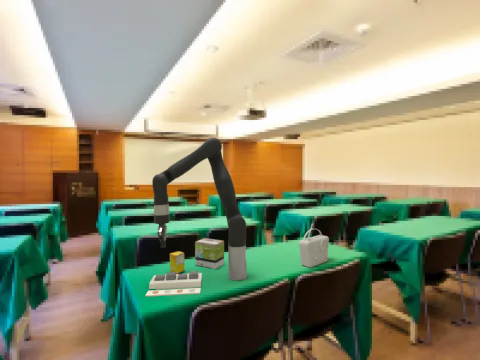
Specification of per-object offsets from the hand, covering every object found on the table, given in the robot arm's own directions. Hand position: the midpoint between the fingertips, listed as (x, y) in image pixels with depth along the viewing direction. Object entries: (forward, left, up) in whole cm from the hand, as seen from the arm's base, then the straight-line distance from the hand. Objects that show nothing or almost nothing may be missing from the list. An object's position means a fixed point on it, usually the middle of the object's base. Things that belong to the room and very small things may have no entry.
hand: (163, 247), depth 138 cm
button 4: (+2, +2, -17) cm, 17 cm away
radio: (-86, -18, -19) cm, 90 cm away
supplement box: (-5, -15, -19) cm, 24 cm away
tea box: (-23, -25, -19) cm, 38 cm away
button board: (-7, +2, -18) cm, 20 cm away
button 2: (-9, +2, -17) cm, 20 cm away
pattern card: (-7, +12, -18) cm, 23 cm away
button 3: (-4, +2, -16) cm, 16 cm away
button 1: (-15, +2, -16) cm, 22 cm away
